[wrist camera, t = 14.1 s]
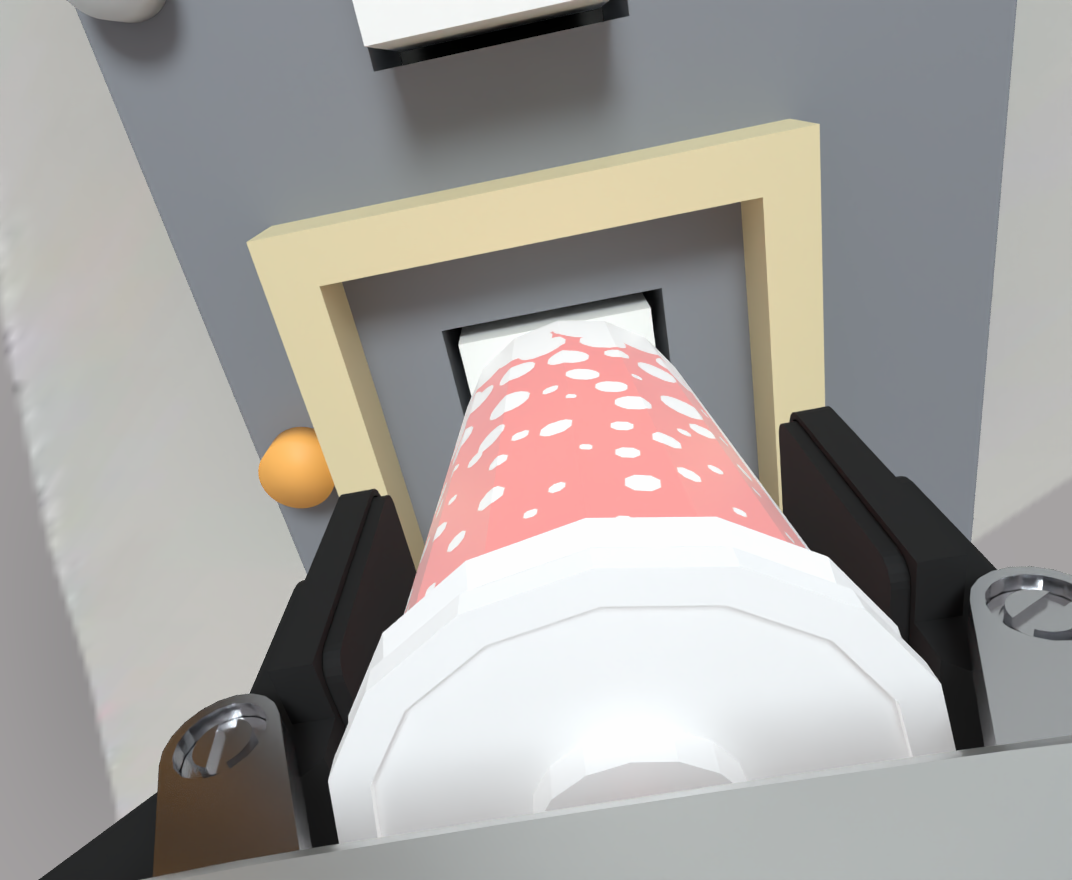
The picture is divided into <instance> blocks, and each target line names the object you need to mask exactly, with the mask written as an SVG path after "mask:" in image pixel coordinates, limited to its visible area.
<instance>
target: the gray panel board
mask: <svg viewBox="0 0 1072 880" xmlns="http://www.w3.org/2000/svg"><path fill="white" fill-rule="evenodd" d="M67 1H68V2H69V3H71V4H72V5H73V6H74V7H75V8H76V11H77V13H78V16H79V18H80V20H81V23H82V25H83V28H84V30H85V33H86V35H87V38H88V40H89V42H90V45H91V47H92V50H93V52H94V55H95V57H96V60H97V62H98V64H99V67H100V69H101V72H102V74H103V77H104V79H105V82H106V84H107V86H108V89H109V91H110V94H111V96H112V99H113V101H114V104H115V106H116V108H117V111H118V113H119V116H120V118H121V121H122V123H123V126H124V128H125V130H126V133H127V135H128V138H129V140H130V143H131V145H132V148H133V150H134V152H135V155H136V157H137V160H138V162H139V165H140V167H141V170H142V172H143V174H144V177H145V179H146V182H147V184H148V187H149V189H150V192H151V194H152V196H153V199H154V201H155V204H156V206H157V209H158V211H159V214H160V216H161V218H162V221H163V223H164V226H165V228H166V231H167V233H168V236H169V238H170V240H171V243H172V245H173V248H174V250H175V253H176V255H177V258H178V260H179V262H180V265H181V267H182V270H183V272H184V275H185V277H186V280H187V282H188V284H189V287H190V289H191V292H192V294H193V297H194V299H195V302H196V304H197V306H198V309H199V311H200V314H201V316H202V319H203V321H204V324H205V326H206V328H207V331H208V333H209V336H210V338H211V341H212V343H213V346H214V348H215V350H216V353H217V355H218V358H219V360H220V363H221V365H222V368H223V370H224V372H225V375H226V377H227V380H228V382H229V385H230V387H231V390H232V392H233V394H234V397H235V399H236V402H237V404H238V407H239V409H240V412H241V414H242V416H243V419H244V421H245V424H246V426H247V429H248V431H249V434H250V436H251V438H252V441H253V443H254V446H255V448H256V451H257V453H258V456H259V458H260V460H261V461H260V464H259V470H258V472H259V479H260V482H261V485H262V487H263V488H264V490H265V491H266V492H267V494H268V495H269V496H270V497H272V498H273V499H274V500H276V501H277V502H278V504H279V507H280V509H281V512H282V514H283V517H284V519H285V522H286V524H287V526H288V529H289V531H290V534H291V536H292V539H293V541H294V544H295V546H296V548H297V551H298V553H299V556H300V558H301V561H302V563H303V566H304V568H305V571H306V573H307V574H308V571H309V569H310V567H311V564H312V562H313V559H314V557H315V554H316V552H317V550H318V547H319V545H320V542H321V540H322V537H323V535H324V533H325V530H326V528H327V525H328V523H329V520H330V518H331V516H332V513H333V511H334V508H335V506H336V504H337V501H338V499H339V497H340V495H342V494H348V493H353V492H359V491H364V490H370V489H376V490H378V492H379V493H380V495H381V496H385V495H390V496H391V498H392V499H393V502H394V504H395V507H396V510H397V514H398V517H399V520H400V523H401V526H402V529H403V532H404V535H405V538H406V541H407V544H408V547H409V550H410V553H411V556H412V559H413V563H414V566H415V569H416V572H417V570H418V566H419V563H420V560H421V557H422V553H423V550H424V547H425V544H426V540H427V537H428V534H429V531H430V527H431V524H432V521H433V518H434V514H435V511H436V508H437V504H438V501H439V498H440V495H441V491H442V488H443V485H444V482H445V478H446V475H447V472H448V469H449V465H450V462H451V459H452V456H453V452H454V449H455V446H456V442H457V439H458V436H459V433H460V429H461V426H462V423H463V420H464V416H465V413H466V410H467V407H468V404H469V402H470V399H471V393H470V389H469V385H468V381H467V377H466V373H465V369H464V365H463V361H462V357H461V353H460V349H459V340H460V335H461V330H462V327H465V326H470V325H475V324H480V323H485V322H490V321H495V320H500V319H506V318H511V317H516V316H521V315H526V314H531V313H536V312H541V311H547V310H552V309H557V308H562V307H567V306H572V305H577V304H582V303H588V302H593V301H598V300H603V299H608V298H613V297H618V296H623V295H629V294H634V293H639V292H642V293H643V295H644V297H645V299H646V301H647V302H648V304H649V306H650V308H651V315H652V323H653V331H654V339H655V347H656V348H657V350H658V351H659V352H660V353H661V354H662V355H663V356H664V357H665V358H666V359H667V360H668V361H669V362H670V363H671V364H672V365H673V366H674V367H675V368H676V369H677V371H678V372H679V373H680V375H681V376H682V377H683V379H684V380H685V382H686V383H687V384H688V386H689V387H690V388H691V390H692V391H693V392H694V394H695V395H696V396H697V398H698V399H699V400H700V402H701V403H702V405H703V406H704V407H705V409H706V410H707V411H708V413H709V414H710V415H711V417H712V418H713V419H714V421H715V422H716V423H717V425H718V426H719V428H720V429H721V430H722V432H723V433H724V434H725V436H726V437H727V438H728V440H729V441H730V442H731V444H732V445H733V446H734V448H735V449H736V451H737V452H738V453H739V455H740V456H741V457H742V459H743V460H744V461H745V463H746V464H747V465H748V467H749V468H750V469H751V471H752V472H753V473H754V475H755V476H756V478H757V479H758V480H759V482H760V483H761V484H762V486H763V487H764V488H765V490H766V491H767V492H768V494H769V495H770V496H771V498H772V499H773V501H774V502H775V503H776V505H777V506H778V507H779V509H780V510H781V511H782V513H783V506H782V487H781V467H780V448H779V426H780V424H782V423H788V422H789V420H790V415H791V414H792V412H798V411H803V410H809V409H814V408H820V407H825V406H830V407H831V408H832V409H833V410H834V411H835V412H836V413H837V414H838V415H839V416H840V417H841V418H842V419H843V420H844V421H845V423H846V424H847V425H848V426H849V427H850V428H851V429H852V430H853V431H854V432H855V433H856V434H857V436H858V437H859V438H860V439H861V440H862V441H863V442H864V443H865V444H866V445H867V446H868V447H869V448H870V450H871V451H872V452H873V453H874V454H875V455H876V456H877V457H878V458H879V459H880V460H881V461H882V462H883V464H884V465H885V466H886V467H887V468H888V469H889V470H890V471H891V472H892V473H893V474H894V475H895V476H896V477H897V476H905V477H907V478H909V479H910V480H911V481H913V482H914V483H915V484H916V486H917V487H918V488H919V489H920V490H921V491H922V492H923V493H924V494H925V495H926V496H927V497H928V498H929V499H930V500H931V501H932V502H933V503H934V504H935V505H936V506H937V507H938V508H939V510H940V511H941V512H942V513H943V514H944V515H945V516H946V517H947V518H948V519H949V520H950V521H951V522H952V523H953V524H954V525H955V526H956V527H957V528H958V529H959V530H960V531H961V533H962V534H963V535H964V536H965V537H966V538H967V539H968V540H969V541H970V542H971V537H972V525H973V513H974V501H975V490H976V478H977V466H978V454H979V442H980V431H981V419H982V407H983V395H984V384H985V372H986V360H987V348H988V336H989V325H990V313H991V301H992V289H993V277H994V266H995V254H996V242H997V230H998V218H999V207H1000V195H1001V183H1002V171H1003V159H1004V148H1005V136H1006V124H1007V112H1008V100H1009V89H1010V77H1011V65H1012V53H1013V41H1014V30H1015V18H1016V6H1017V0H609V1H608V2H607V3H605V4H604V5H603V6H602V10H603V18H604V22H600V23H595V24H590V25H586V26H581V27H577V28H572V29H568V30H563V31H558V32H554V33H549V34H545V35H540V36H536V37H531V38H526V39H522V40H517V41H513V42H508V43H504V44H499V45H494V46H490V47H485V48H481V49H476V50H472V51H467V52H462V53H458V54H453V55H449V56H444V57H440V58H435V59H430V60H426V61H421V62H417V63H412V64H408V65H402V61H401V57H400V53H399V52H398V51H391V50H385V49H378V48H371V47H365V46H364V43H363V39H362V36H361V32H360V28H359V24H358V20H357V17H356V13H355V9H354V5H353V1H352V0H67Z"/></svg>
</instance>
